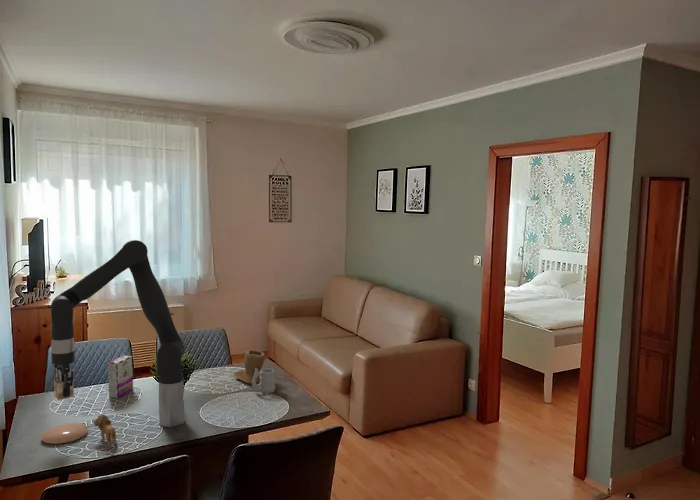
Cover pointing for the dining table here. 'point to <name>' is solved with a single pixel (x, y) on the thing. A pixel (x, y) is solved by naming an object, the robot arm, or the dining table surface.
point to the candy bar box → (120, 376)
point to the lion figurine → (106, 430)
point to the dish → (64, 433)
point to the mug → (264, 380)
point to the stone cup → (251, 366)
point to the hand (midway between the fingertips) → (64, 394)
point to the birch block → (61, 390)
